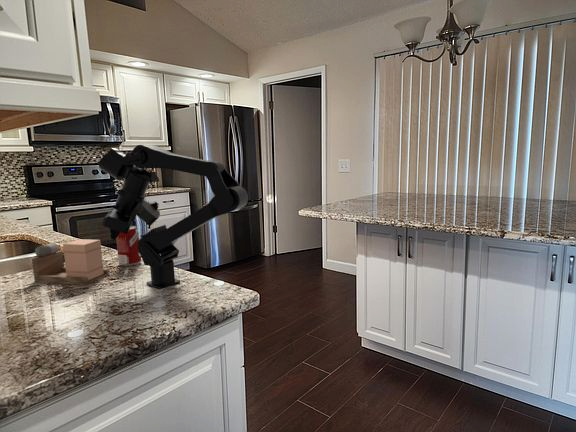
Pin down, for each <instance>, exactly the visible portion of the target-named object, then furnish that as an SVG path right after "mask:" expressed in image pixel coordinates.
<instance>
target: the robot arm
mask: <svg viewBox="0 0 576 432" xmlns="http://www.w3.org/2000/svg"><path fill="white" fill-rule="evenodd" d="M98 168H99V169H100V170H101V171H103V172H104V173H106V174H107V175H109V176H111V177H113V178H114V179H115V180H117V181H123V180H124V182H123V184H122V187H121V188H120V190H119V191H118V196H117V199H116V202H115V203H114V204H113V207H112V211H110V212H107V214H106V215H105V216H104V219H103V220H102V222H101V225H102V226H103V227H104V228H105V227H106V228H108V229H109V233H110V239H111V240H113V241H114V240H116V238H117V237H118V235H119V234H120V232H121V233H124V234H127V233H128V231H129V229H130V227H131V226H133V223H134V221H135V220H136V218H137V217H138V218H139V219H140V220H141V221H143V222H144V223H145V224H146V225H147V226H149V227H151V226H152V225H153V224H155V222H157V220H159V218H160V215H161V213H160V212H161V211H160V210H159V206H160V204H159V203H158V202H157V201H156V200H155V201H151V202H150V201H148V202H147V201H146V200H145V199H146V191H147V189H148V187H149V184H150V183H151V184H153V183H158V182H160V179H159V177H158V175H157V172H156V171H149V170H147V169H168V170H173V171H177V172H183V173H187V174H191V175H196V176H201V177H206V179H207V181H208V183H209V186H210V187H209V188H210V189H211V192H212V193H213V195H214V196H213V197H211V199H210V200H209V201H208V203H207V204H206V205H204V206H203V207H201V208H199V209H197V210H196V211H194V212H193V213H191V214H189V215H187V216H186V217H184V218H182V219H181V220H179V221H178V222H175V223H173V225H171V226H169V227H167V225H166V224H163V225H159V226H156V227H154V228H152V229H150V230H149V231H148V232H147V233H144V234H141V235H140V237H141V238H139V239H140V240H139V241H138V246H137V247H138V251H139V253H140V255H141V261H142V262H143V264H144V265H143V266H149V267H150V268H149V270H150V271H149V272H150V279H151V280H149V281H147V282H146V285H148V286H149V287H154V288H155V289H164V288H166V287H169V286H172V285H176V284H179V283H181V280H180V279H178V278H176V274H175V261H174V259H177V258H178V256H179V253H180V249H178V248H177V246H176V245H175V244H176V243H177V241H178V240H179V239H181V238H183V237H184V236H186V235H188V234H190V233H192V232H193V231H195V230H196V229H198V228H200V227H201V226H203V225H205V224H208V223H209V222H210V221H212V220H214V219H215V218H217V217H220V216H223V215H225V214H228V213H230V212H235V211H236V210H239V209H242V208H244V207H245V206H247V204H248V200H249V194H248V191H247V190H246V189H245V188H244V187H243V186H241V185H240V184H239V183H238V181H237V180H236V179H235V178H234V176H233V175H232V174H230V173H229V172H228V170H227V168H226V167H225V165H223V164H222V162H220V161H212V160H206V159H201V158H196V157H191V156H186V155H181V154H177V153H173V152H171V151H169V150H168V149H165V148H163V147H160V146H157V145H148V144H138V145H136V146H135V147H133V149H132V151H131V152H129V153H128V154H124V152H122V151H121V150H120V149H118V148H115V147H114V148H113V147H110V149H109V151H107V152H106V153H105V154H104V155H103V156H101V158H100V159H99V162H98Z"/></svg>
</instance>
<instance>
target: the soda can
mask: <svg viewBox="0 0 576 432" xmlns="http://www.w3.org/2000/svg"><path fill="white" fill-rule="evenodd" d="M140 239H141V238H140V233H139V230H138V229H137V225H131V227H130V229H129V231H128V233H127V234H124V233H121V232H120V234H119V235H118V237H117V238H116V239H115V240H116V241H115V242H116V250H117V259H118V260H117V261H118V265H120V266H122V267H133V266H137V265H139V264H140V263H141V262H142V257H141V255H140V253H139V251H138V247H137V246H138V241H139V240H140Z"/></svg>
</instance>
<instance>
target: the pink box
mask: <svg viewBox="0 0 576 432" xmlns="http://www.w3.org/2000/svg"><path fill="white" fill-rule="evenodd" d="M101 244H102V243H101V240H100V239H85V238H83V239H81V238H79V239H75V240H73V241H69V242H65V243H63V244H62V249H63V251H62V252H63V259H64V267H66V274H67V276H70V277H87V278H88V280H91V279H93V278H95V277H97V276H100V275H102V274H104V271H103V269H104V262H103V254H102V253H103V252H102V245H101Z"/></svg>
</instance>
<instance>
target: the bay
mask: <svg viewBox="0 0 576 432" xmlns="http://www.w3.org/2000/svg"><path fill="white" fill-rule="evenodd" d="M34 252H35V255H36V256H37V257H34V258H31V262H32V271H33V276H34V277H33V278H34V282H35V283H48V284H60V285H61V284H63V285H64V284H65V285H76V286H77V285H78V286H79V285H80V286H81V285H82V286H88V285H89V284H92V283H94V282H96V281H98V280H101V279H103V278H105V277H107V276H109V275H110V271H109V268H103V271H104V274H102V275H100V276H97V277H95V278H93V279H91V280H88V278H87V277H70V276H67V274H66V266H65V259H64V252H63V251H62V250H59V246H58V244H57V243H56V242H51V243H47V244H44V245H40V246H37V247H36V248H35V250H34Z"/></svg>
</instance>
